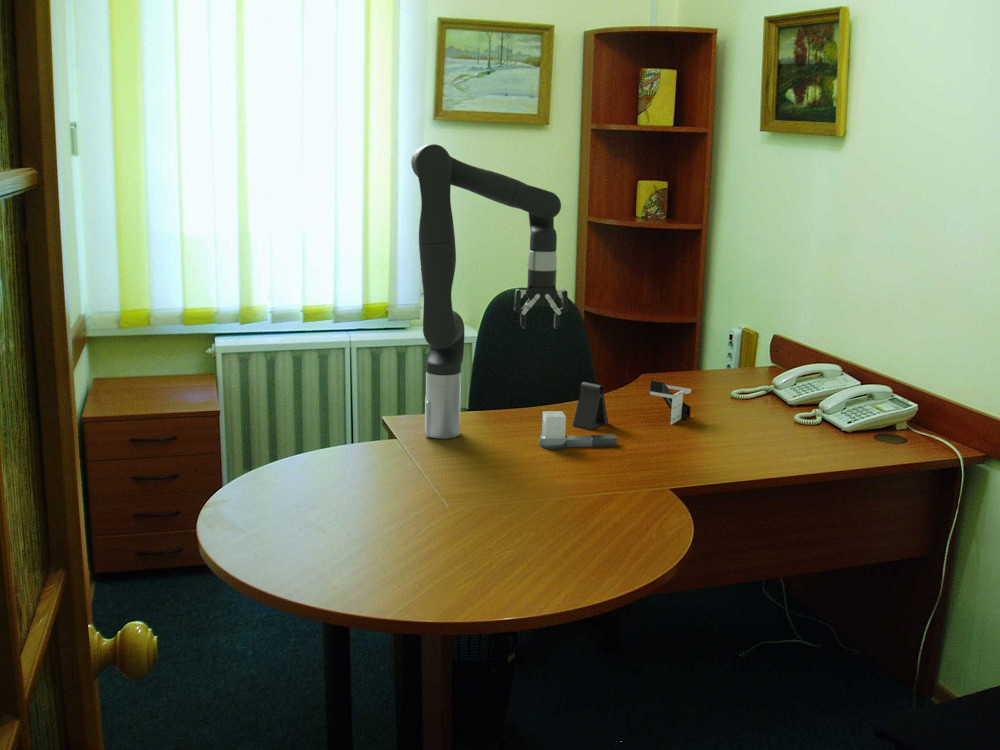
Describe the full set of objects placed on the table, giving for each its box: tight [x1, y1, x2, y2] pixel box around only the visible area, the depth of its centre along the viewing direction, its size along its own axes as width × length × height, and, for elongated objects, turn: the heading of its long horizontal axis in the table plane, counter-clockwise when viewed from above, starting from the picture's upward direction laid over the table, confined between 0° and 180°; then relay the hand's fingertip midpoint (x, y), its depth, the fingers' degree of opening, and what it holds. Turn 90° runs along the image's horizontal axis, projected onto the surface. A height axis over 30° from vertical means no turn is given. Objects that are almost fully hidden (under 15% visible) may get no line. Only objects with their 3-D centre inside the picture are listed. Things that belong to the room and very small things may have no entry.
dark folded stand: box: [572, 381, 609, 431], centre depth 266 cm, size 9×6×12 cm, turn 141°
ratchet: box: [539, 433, 618, 451], centre depth 248 cm, size 20×7×6 cm, turn 98°
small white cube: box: [541, 410, 567, 439], centre depth 247 cm, size 5×5×6 cm
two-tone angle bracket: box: [649, 379, 692, 425], centre depth 274 cm, size 9×10×12 cm
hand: (539, 328), depth 256 cm, fingers open, 8 cm apart
